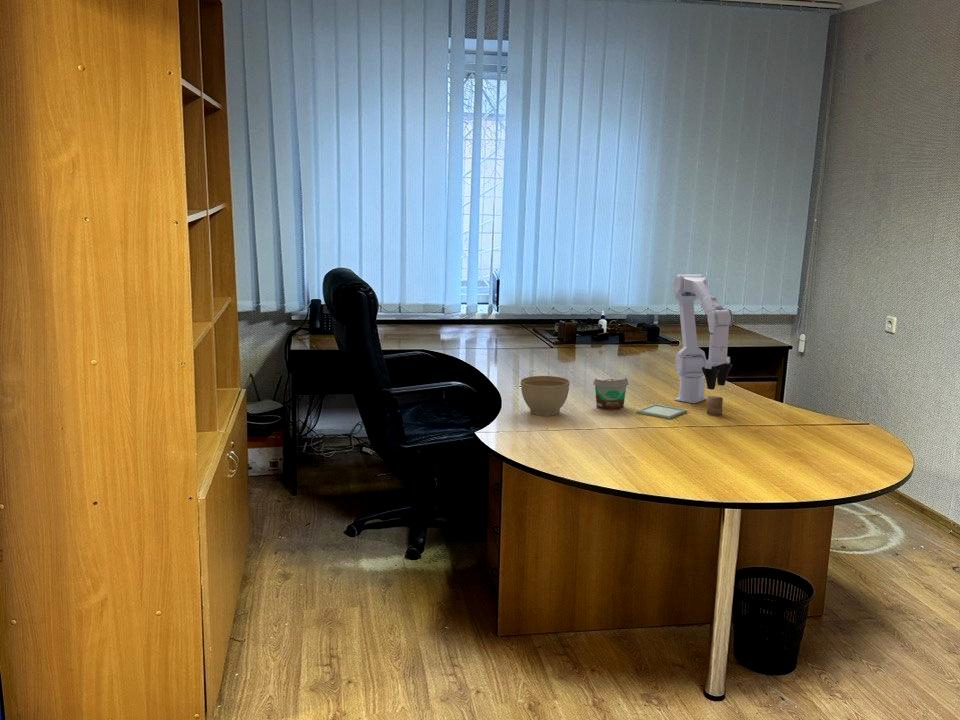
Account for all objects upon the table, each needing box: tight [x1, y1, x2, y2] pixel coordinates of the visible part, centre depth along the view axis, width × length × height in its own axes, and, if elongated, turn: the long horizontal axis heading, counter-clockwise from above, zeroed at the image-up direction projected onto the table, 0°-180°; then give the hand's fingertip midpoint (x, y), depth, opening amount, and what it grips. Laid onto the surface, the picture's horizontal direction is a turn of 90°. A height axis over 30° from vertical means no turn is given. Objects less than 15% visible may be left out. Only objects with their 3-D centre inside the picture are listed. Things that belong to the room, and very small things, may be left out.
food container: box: [592, 376, 629, 411], centre depth 297 cm, size 12×6×10 cm, turn 105°
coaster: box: [636, 403, 688, 420], centre depth 293 cm, size 12×12×1 cm
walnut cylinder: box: [706, 395, 724, 417], centre depth 291 cm, size 5×5×6 cm
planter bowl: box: [520, 375, 571, 417], centre depth 290 cm, size 16×16×11 cm
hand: (716, 387), depth 290 cm, fingers open, 7 cm apart
